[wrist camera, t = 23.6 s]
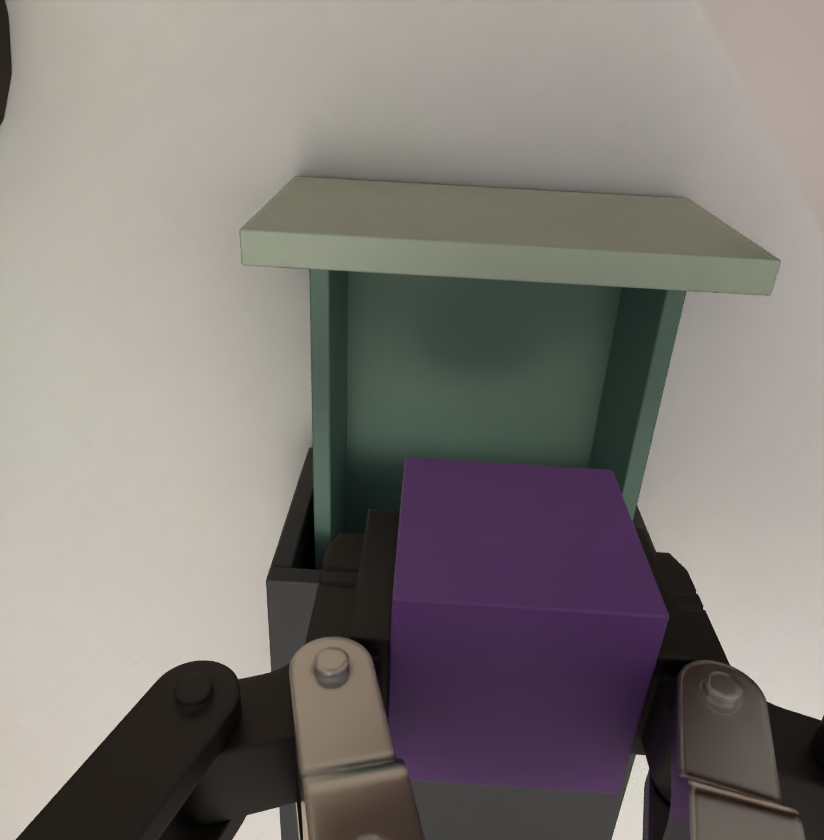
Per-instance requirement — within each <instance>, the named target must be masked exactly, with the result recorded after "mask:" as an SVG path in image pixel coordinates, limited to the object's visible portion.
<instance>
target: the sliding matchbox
mask: <svg viewBox="0 0 824 840" xmlns="http://www.w3.org/2000/svg"><path fill="white" fill-rule="evenodd" d="M240 247H241V263H242V265H248V266H265V267H283V268H300V269H309V274H310V327H311V381H312V434H313V488H314V541H315V570H322V566H323V561H324V557H325V552H326V548H327V547H328V545H329V544H330V543H331V542H332V541H333V540H334V539H335V538H336V537H337V535H338V534H339V533H340V532H348V533H365V526H366V520H367V513H368V509H380V510H396V511H400V506H401V495H402V484H403V473H404V462H405V458H407V457H411V458H427V459H444V460H460V461H476V462H492V463H509V464H525V465H541V466H557V467H574V468H590V469H606V470H612V471H613V472H614V475H615V478H616V480H617V483H618V485H619V488H620V490H621V493H622V496H623V498H624V501H625V503H626V506H627V508H628V511H629V514H630V516H631V519H632V521H633V518H634V514H635V510H636V506H637V501H638V497H639V493H640V488H641V484H642V480H643V475H644V471H645V467H646V463H647V458H648V454H649V450H650V445H651V441H652V437H653V432H654V428H655V424H656V420H657V415H658V411H659V407H660V402H661V398H662V394H663V390H664V385H665V381H666V377H667V372H668V368H669V364H670V359H671V355H672V351H673V347H674V342H675V338H676V334H677V329H678V325H679V321H680V316H681V312H682V308H683V304H684V299H685V295H686V291H698V292H715V293H732V294H750V295H767V296H769V295H771V294H772V290H773V287H774V283H775V280H776V276H777V273H778V269H779V266H780V260H779V259H778V258H776V257H775V256H773V255H772V254H770V253H769V252H767V251H766V250H764V249H763V248H761V247H760V246H758V245H757V244H755V243H754V242H752V241H751V240H749V239H748V238H746V237H745V236H743V235H742V234H740V233H739V232H737V231H736V230H734V229H733V228H731V227H730V226H728V225H727V224H725V223H724V222H723V221H721V220H720V219H718V218H717V217H715V216H714V215H712V214H711V213H709V212H708V211H706V210H705V209H703V208H702V207H700V206H699V205H697V204H696V203H694V202H693V201H691V200H690V199H686V198H668V197H650V196H633V195H615V194H597V193H580V192H562V191H544V190H526V189H509V188H491V187H473V186H456V185H438V184H420V183H402V182H385V181H367V180H349V179H332V178H314V177H294V178H293V179H292V180H291V181H290V182H289V183H288V184H287V185H286V186H285V187H284V188H283V189H282V190H280V191H279V192H278V193H277V194H276V195H275V196H274V197H273V198H272V199H271V200H270V201H269V202H268V203H267V204H266V205H265V206H264V207H263V208H262V209H261V210H260V211H259V212H258V213H257V214H256V215H255V216H254V217H252V218H251V219H250V220H249V221H248V222H247V223H246V224H245V225H244V226H243V227H242V228H241V229H240Z"/></svg>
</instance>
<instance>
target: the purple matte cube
mask: <svg viewBox="0 0 824 840" xmlns="http://www.w3.org/2000/svg"><path fill="white" fill-rule="evenodd" d="M668 620H669V614H668V612H667V609H666V607H665V604H664V601H663V599H662V596H661V594H660V591H659V589H658V586H657V583H656V581H655V578H654V576H653V573H652V570H651V568H650V565H649V563H648V560H647V558H646V555H645V552H644V550H643V547H642V545H641V542H640V539H639V537H638V534H637V532H636V529H635V527H634V524H633V521H632V519H631V516H630V514H629V511H628V508H627V506H626V503H625V501H624V498H623V496H622V493H621V490H620V488H619V485H618V483H617V480H616V478H615V475H614V472H613V471H612V470H606V469H590V468H574V467H557V466H541V465H525V464H509V463H492V462H476V461H460V460H444V459H427V458H411V457H407V458H405V462H404V473H403V484H402V495H401V506H400V518H399V529H398V540H397V551H396V562H395V573H394V585H393V596H392V614H391V635H390V656H389V677H388V698H387V721H388V726H389V730H390V734H391V738H392V742H393V746H394V751H395V754H396V757H397V759H399V758H402V759H403V760H404V762H405V764H406V767H407V770H408V774H409V777H410V780H420V781H435V782H451V783H466V784H481V785H496V786H511V787H526V788H542V789H557V790H572V791H587V792H602V793H619V791H620V788H621V784H622V781H623V777H624V774H625V770H626V767H627V763H628V760H629V756H630V753H631V749H632V746H633V742H634V739H635V735H636V732H637V728H638V725H639V721H640V718H641V714H642V711H643V707H644V704H645V700H646V697H647V693H648V690H649V686H650V683H651V679H652V676H653V672H654V669H655V665H656V662H657V658H658V655H659V651H660V648H661V644H662V641H663V637H664V634H665V630H666V627H667V623H668Z"/></svg>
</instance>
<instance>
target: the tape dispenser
mask: <svg viewBox="0 0 824 840" xmlns="http://www.w3.org/2000/svg"><path fill="white" fill-rule="evenodd" d="M10 77H11V59H10V41H9V24H8V14H7V10H6V6H5V2H4V0H0V124H1V122H2V120H3V117H4V111H5V106H6V100H7V94H8V89H9V83H10Z"/></svg>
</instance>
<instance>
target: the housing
mask: <svg viewBox="0 0 824 840" xmlns="http://www.w3.org/2000/svg"><path fill="white" fill-rule="evenodd" d="M633 524H634V526H642V527H643V528H644V529H645V531H646V533H647V536H648V538H649V541H650V543H651V546H652V548H653V551H654V552H656V550H655V548H654V546H653V543H652V541H651V538H650V536H649V533H648V531H647V528H646V526H645V524H644V521H643V519H642V516H641V514H640V511H639V509H638V507H637V506H636V510H635V514H634V518H633ZM320 574H321V570H315V541H314V488H313V448H309V450H308V453H307V456H306V459H305V462H304V465H303V468H302V471H301V474H300V478H299V481H298V484H297V487H296V490H295V493H294V496H293V499H292V502H291V505H290V508H289V512H288V515H287V518H286V521H285V524H284V527H283V530H282V533H281V536H280V539H279V542H278V546H277V549H276V552H275V555H274V558H273V561H272V564H271V568H270V570H269V573H268V576H267V579H266V588H267V605H268V622H269V639H270V656H271V672H273V671H275V670H278V669H280V668H282V667H284V666H285V665H287V664H288V663H290V662H291V660H292V658H293V656H294V655H295V653H296V652H297V651H298V650H299V649H300V648H301V647H303V646H304V644H305V641H306V637H307V632H308V628H309V624H310V619H311V615H312V610H313V606H314V601H315V597H316V592H317V588H318V585H319V579H320ZM635 756H636V754H630V756H629V760H628V763H627V767H626V770H625V774H624V777H623V781H622V784H621V788H620V791H619V793H602V792H587V791H572V790H557V789H542V788H526V787H511V786H496V785H481V784H466V783H451V782H435V781H420V780H410V781H411V785H412V789H413V793H414V797H415V801H416V805H417V809H418V813H419V817H420V821H421V825H422V829H423V833H424V837H425V840H611V839H612V836H613V832H614V829H615V825H616V822H617V818H618V815H619V811H620V808H621V804H622V801H623V797H624V794H625V790H626V787H627V784H628V780H629V777H630V773H631V770H632V766H633V763H634V759H635ZM280 824H281V840H299V833H298V822H297V812H296V803H292V804H288V805H284V806H280Z"/></svg>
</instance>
